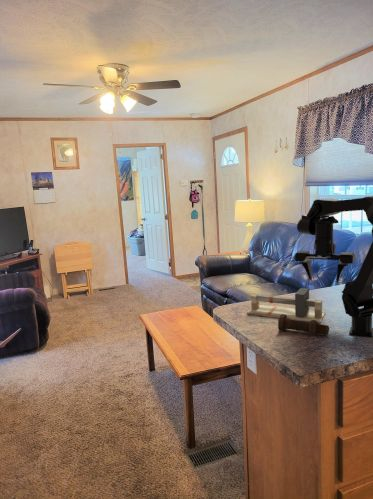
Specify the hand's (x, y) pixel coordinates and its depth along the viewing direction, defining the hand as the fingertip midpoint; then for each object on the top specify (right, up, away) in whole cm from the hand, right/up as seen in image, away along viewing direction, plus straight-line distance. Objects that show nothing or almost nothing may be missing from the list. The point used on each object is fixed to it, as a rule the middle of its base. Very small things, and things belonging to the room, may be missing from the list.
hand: (324, 281), depth 129 cm
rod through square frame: (-11, -12, +8) cm, 19 cm away
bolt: (-10, -16, -10) cm, 21 cm away
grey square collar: (-6, -13, +5) cm, 15 cm away
